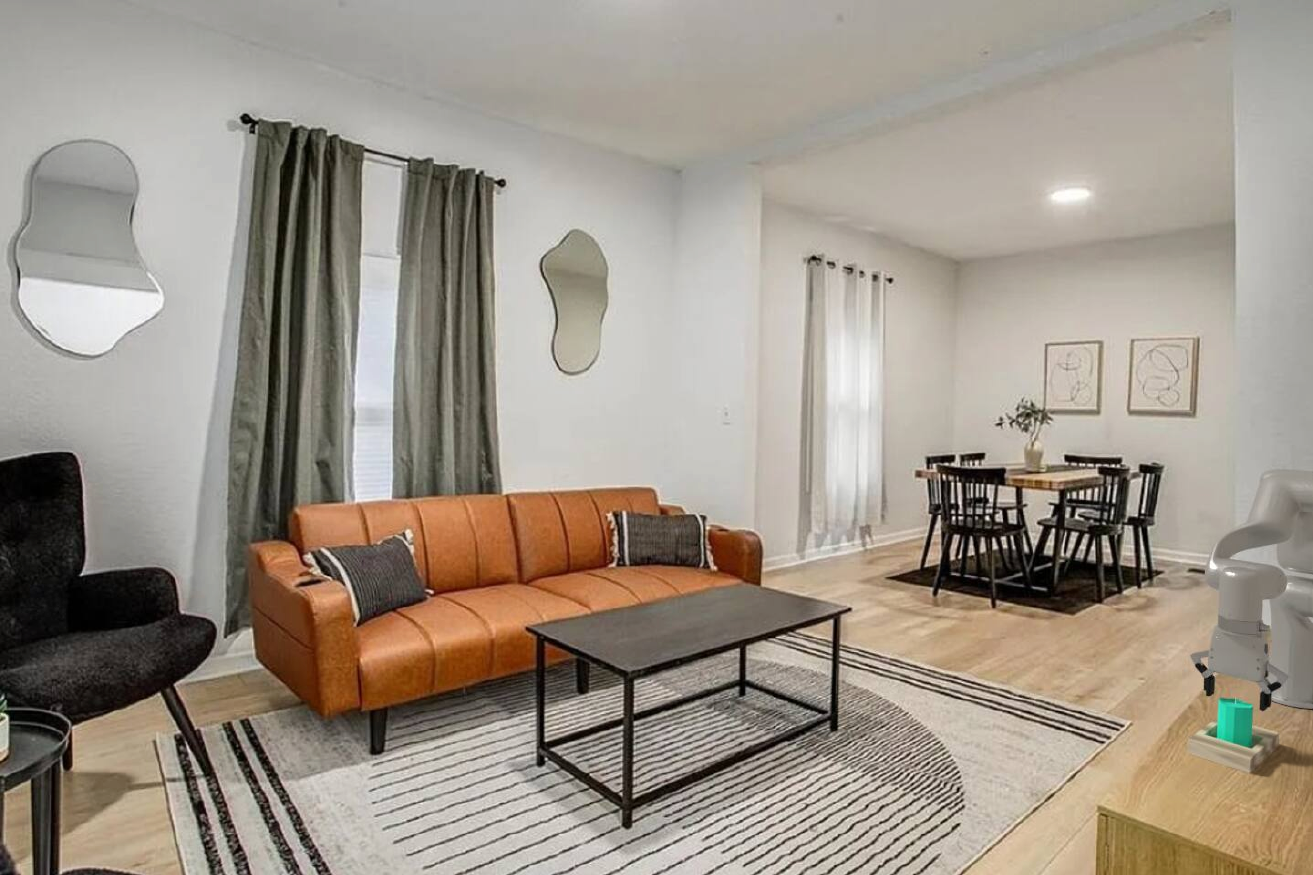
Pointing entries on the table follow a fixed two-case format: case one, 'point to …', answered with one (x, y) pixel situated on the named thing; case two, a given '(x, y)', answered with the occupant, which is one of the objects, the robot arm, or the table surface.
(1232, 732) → the candle
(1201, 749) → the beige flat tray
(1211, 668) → the robot arm
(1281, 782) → the table surface
